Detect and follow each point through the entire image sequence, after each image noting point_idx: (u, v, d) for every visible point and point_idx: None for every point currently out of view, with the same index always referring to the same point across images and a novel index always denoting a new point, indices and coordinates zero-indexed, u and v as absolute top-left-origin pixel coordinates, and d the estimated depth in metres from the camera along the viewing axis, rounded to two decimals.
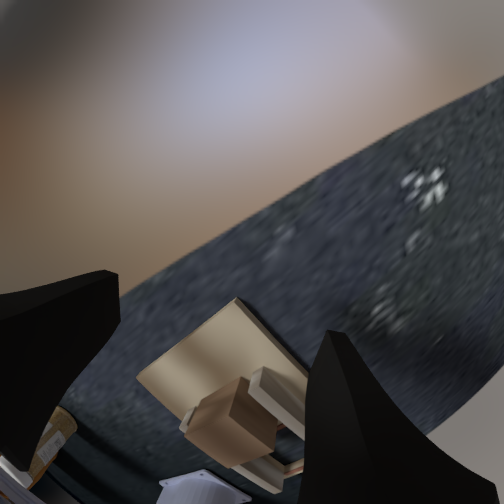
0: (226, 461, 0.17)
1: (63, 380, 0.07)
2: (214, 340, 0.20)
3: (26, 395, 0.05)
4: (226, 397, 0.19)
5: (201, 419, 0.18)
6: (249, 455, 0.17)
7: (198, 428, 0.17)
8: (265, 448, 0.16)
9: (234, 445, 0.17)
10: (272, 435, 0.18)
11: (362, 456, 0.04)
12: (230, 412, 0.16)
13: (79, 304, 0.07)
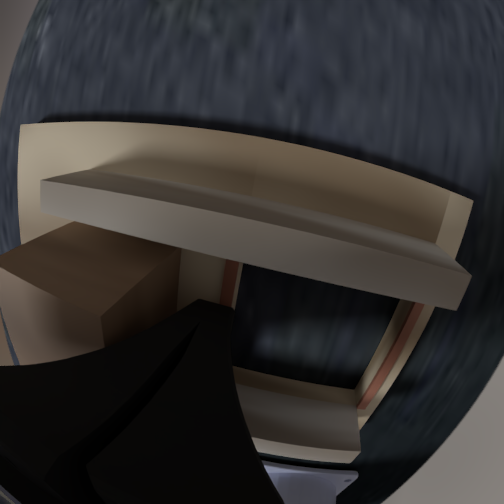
0: None
1: None
2: (32, 194, 0.10)
3: None
4: None
5: None
6: None
7: (14, 337, 0.07)
8: (79, 316, 0.05)
9: (53, 348, 0.06)
10: (120, 282, 0.06)
11: (148, 411, 0.04)
12: None
13: None
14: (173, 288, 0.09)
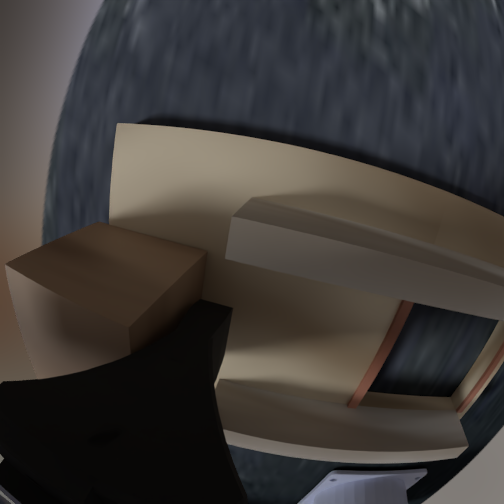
0: None
1: None
2: (139, 217, 0.09)
3: None
4: None
5: None
6: None
7: (29, 343, 0.07)
8: (104, 326, 0.05)
9: (72, 356, 0.06)
10: (146, 291, 0.06)
11: (123, 401, 0.04)
12: (14, 260, 0.06)
13: None
14: (197, 295, 0.09)
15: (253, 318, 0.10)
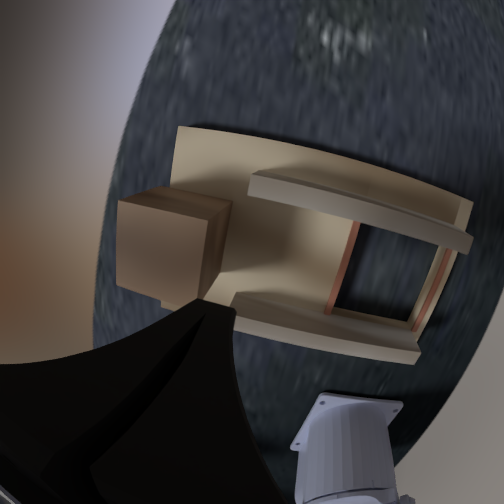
0: (181, 295, 0.13)
1: None
2: (191, 182, 0.16)
3: None
4: None
5: None
6: (190, 256, 0.13)
7: (118, 256, 0.14)
8: (192, 223, 0.12)
9: (161, 250, 0.13)
10: (209, 211, 0.13)
11: (150, 411, 0.04)
12: (123, 199, 0.13)
13: (188, 345, 0.07)
14: (226, 227, 0.16)
15: (259, 243, 0.17)
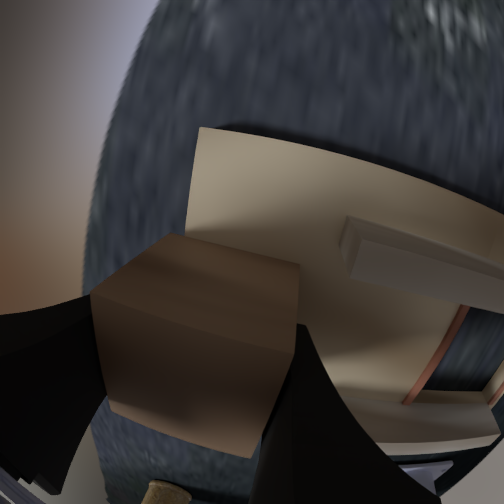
0: (227, 442, 0.07)
1: (95, 398, 0.07)
2: (223, 229, 0.09)
3: (60, 419, 0.05)
4: None
5: None
6: (249, 403, 0.06)
7: (107, 375, 0.07)
8: (258, 356, 0.05)
9: (190, 388, 0.06)
10: (282, 312, 0.07)
11: (288, 449, 0.04)
12: (100, 285, 0.06)
13: None
14: None
15: (334, 328, 0.10)
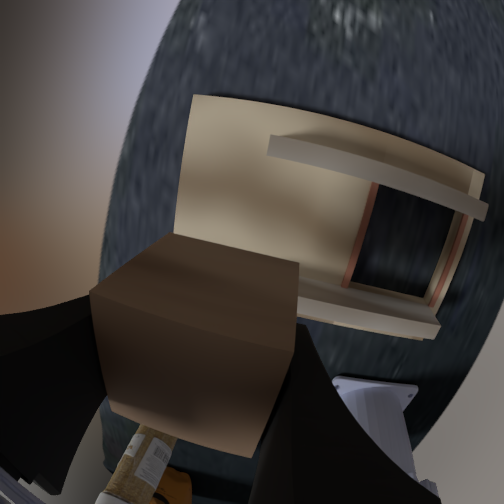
0: (227, 442, 0.07)
1: (95, 398, 0.07)
2: (205, 150, 0.15)
3: (60, 419, 0.05)
4: None
5: None
6: (249, 402, 0.06)
7: (106, 375, 0.07)
8: (258, 354, 0.05)
9: (189, 388, 0.06)
10: (281, 310, 0.07)
11: (287, 449, 0.04)
12: (99, 284, 0.06)
13: None
14: None
15: (275, 211, 0.16)
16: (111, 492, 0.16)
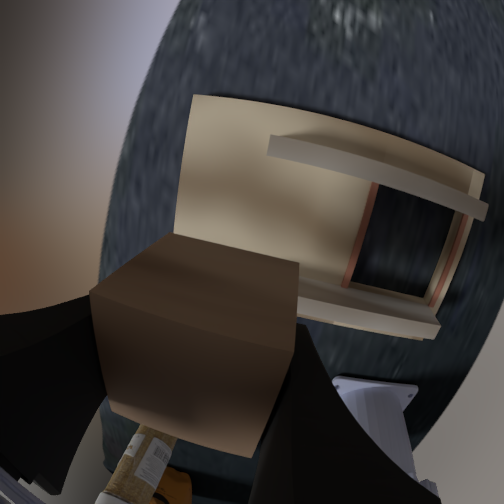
0: (227, 442, 0.07)
1: (95, 398, 0.07)
2: (205, 150, 0.15)
3: (60, 419, 0.05)
4: None
5: None
6: (249, 402, 0.06)
7: (106, 375, 0.07)
8: (257, 354, 0.05)
9: (189, 388, 0.06)
10: (281, 311, 0.07)
11: (287, 449, 0.04)
12: (99, 284, 0.06)
13: None
14: None
15: (275, 211, 0.16)
16: (111, 492, 0.16)
